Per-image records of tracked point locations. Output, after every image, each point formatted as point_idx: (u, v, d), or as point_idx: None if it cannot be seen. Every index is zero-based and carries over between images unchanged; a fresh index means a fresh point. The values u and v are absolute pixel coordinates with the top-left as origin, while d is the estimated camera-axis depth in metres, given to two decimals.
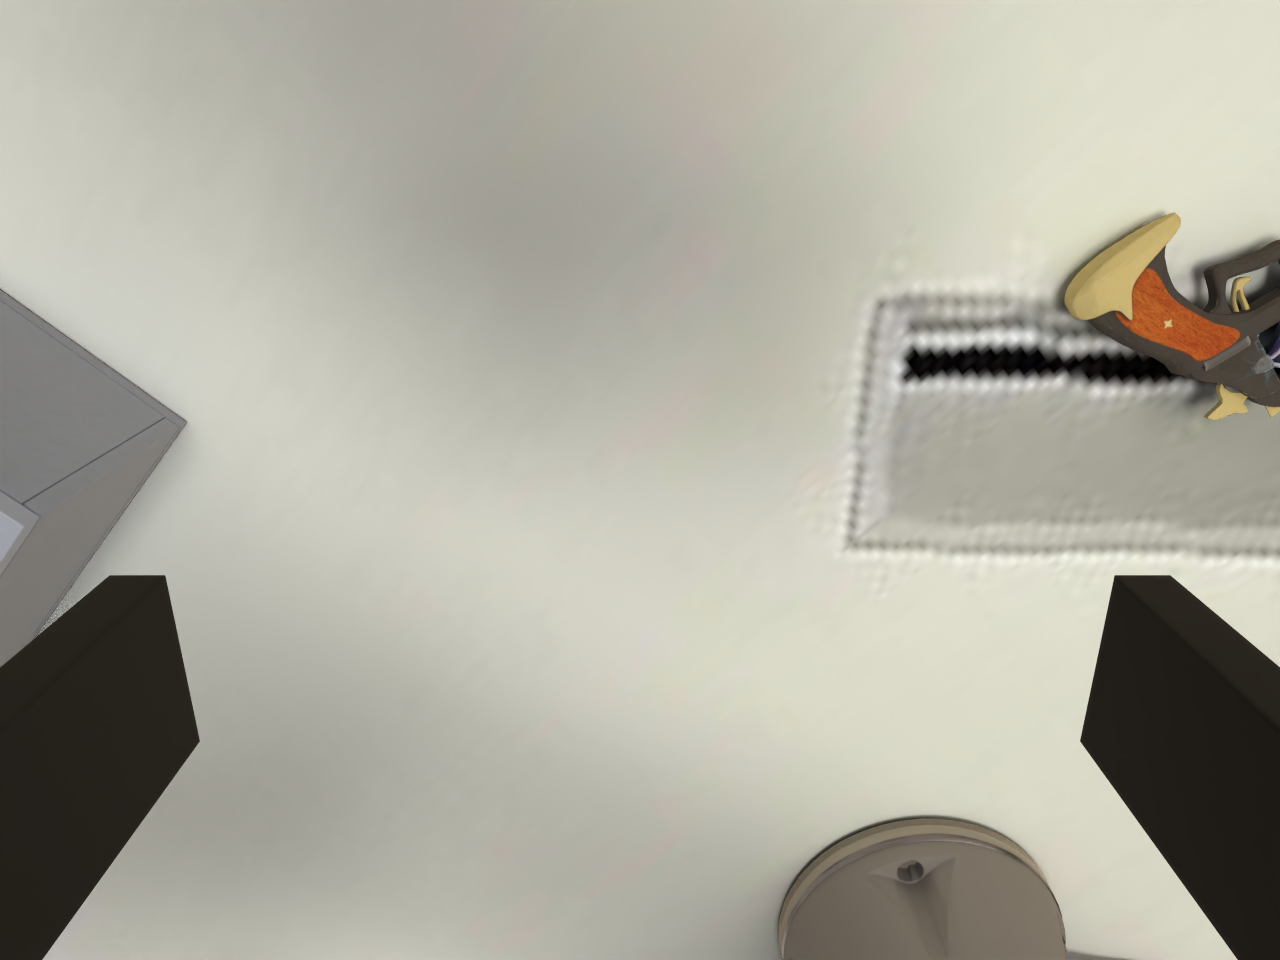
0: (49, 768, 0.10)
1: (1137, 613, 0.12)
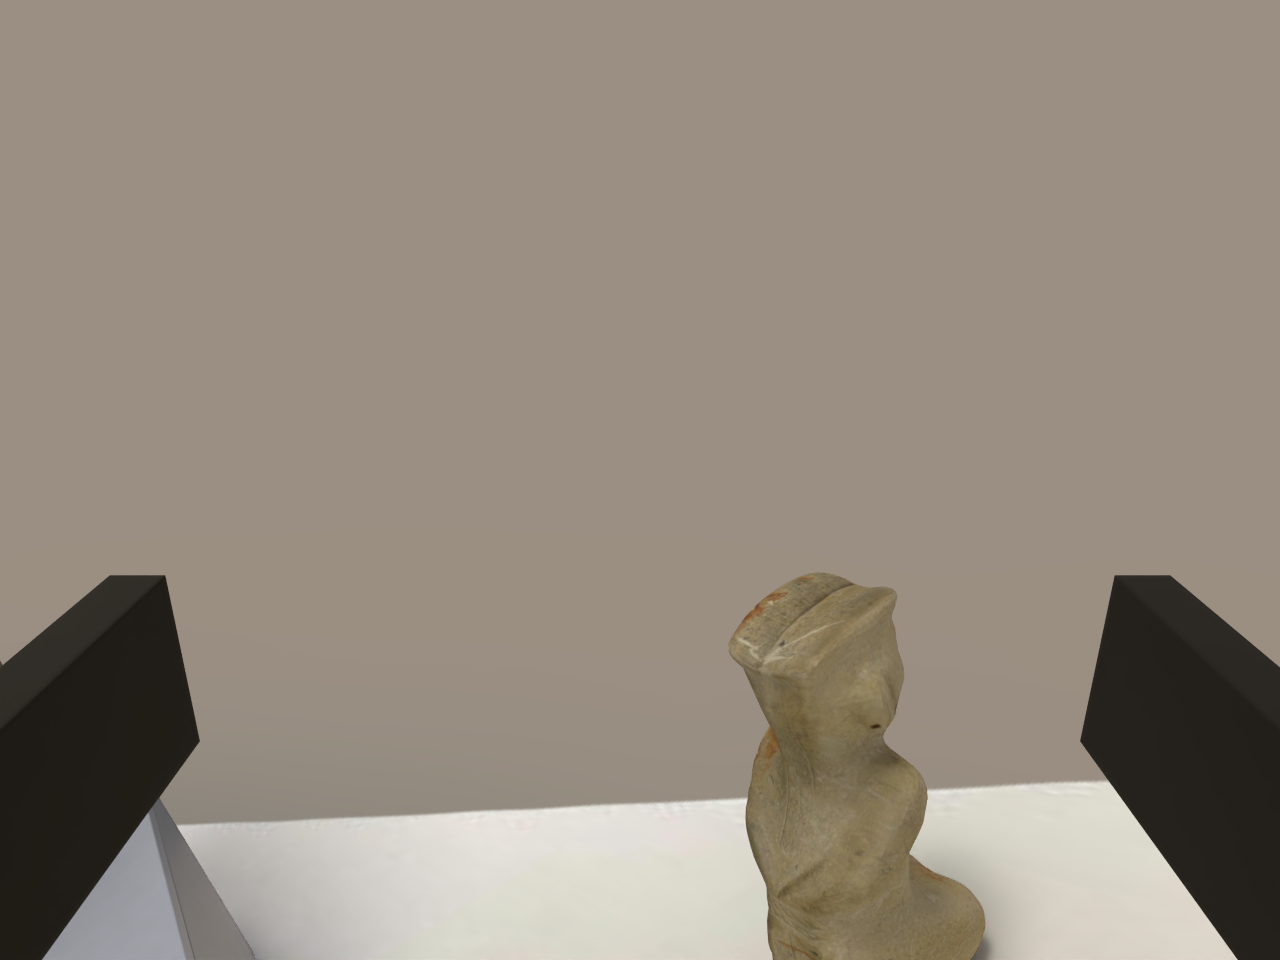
0: (49, 768, 0.10)
1: (1137, 613, 0.12)
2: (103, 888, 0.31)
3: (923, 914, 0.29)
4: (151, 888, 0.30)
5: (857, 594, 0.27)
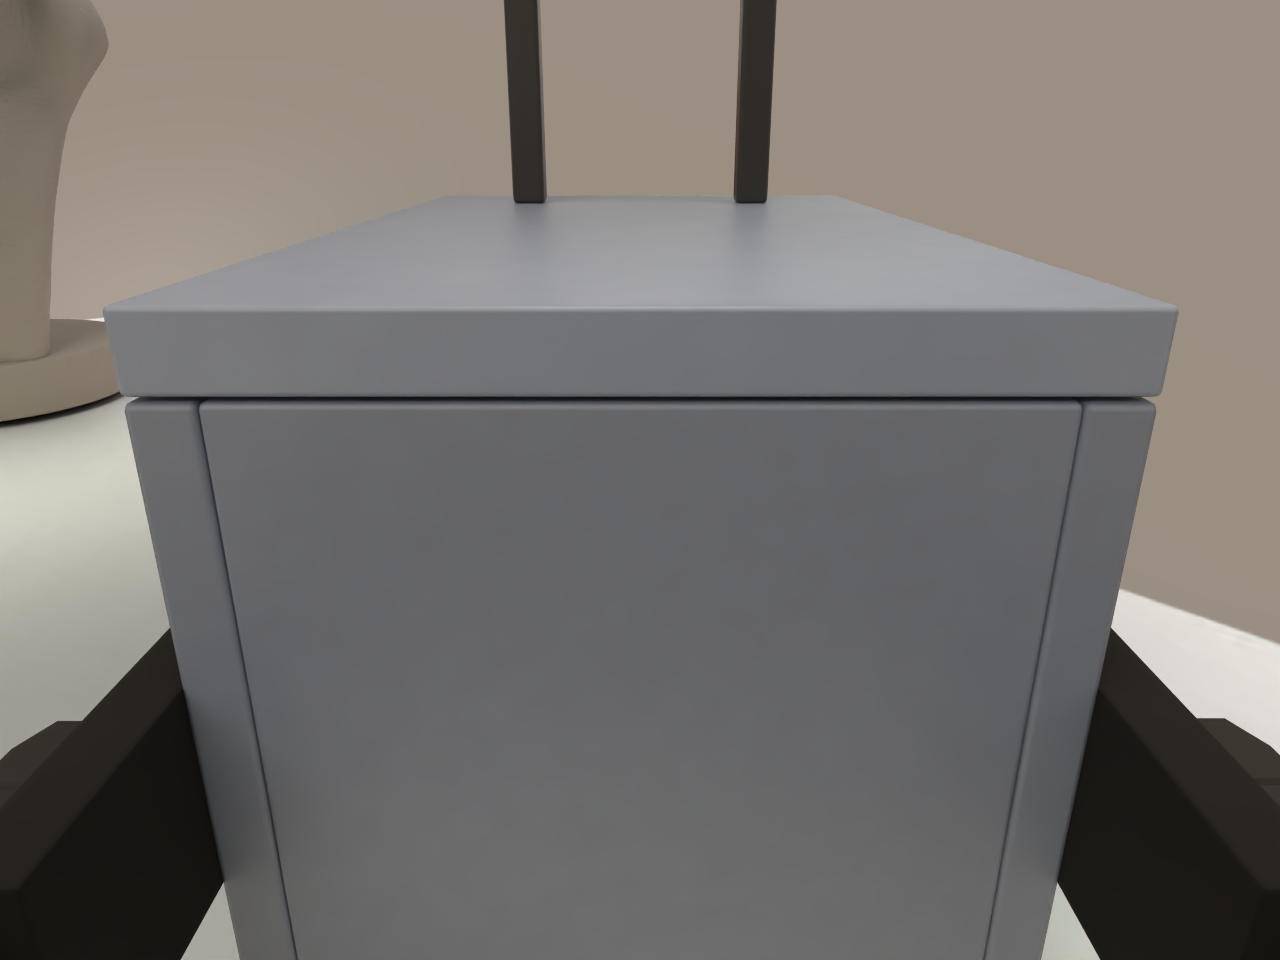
0: None
1: None
2: (837, 233, 0.14)
3: None
4: (963, 246, 0.13)
5: None
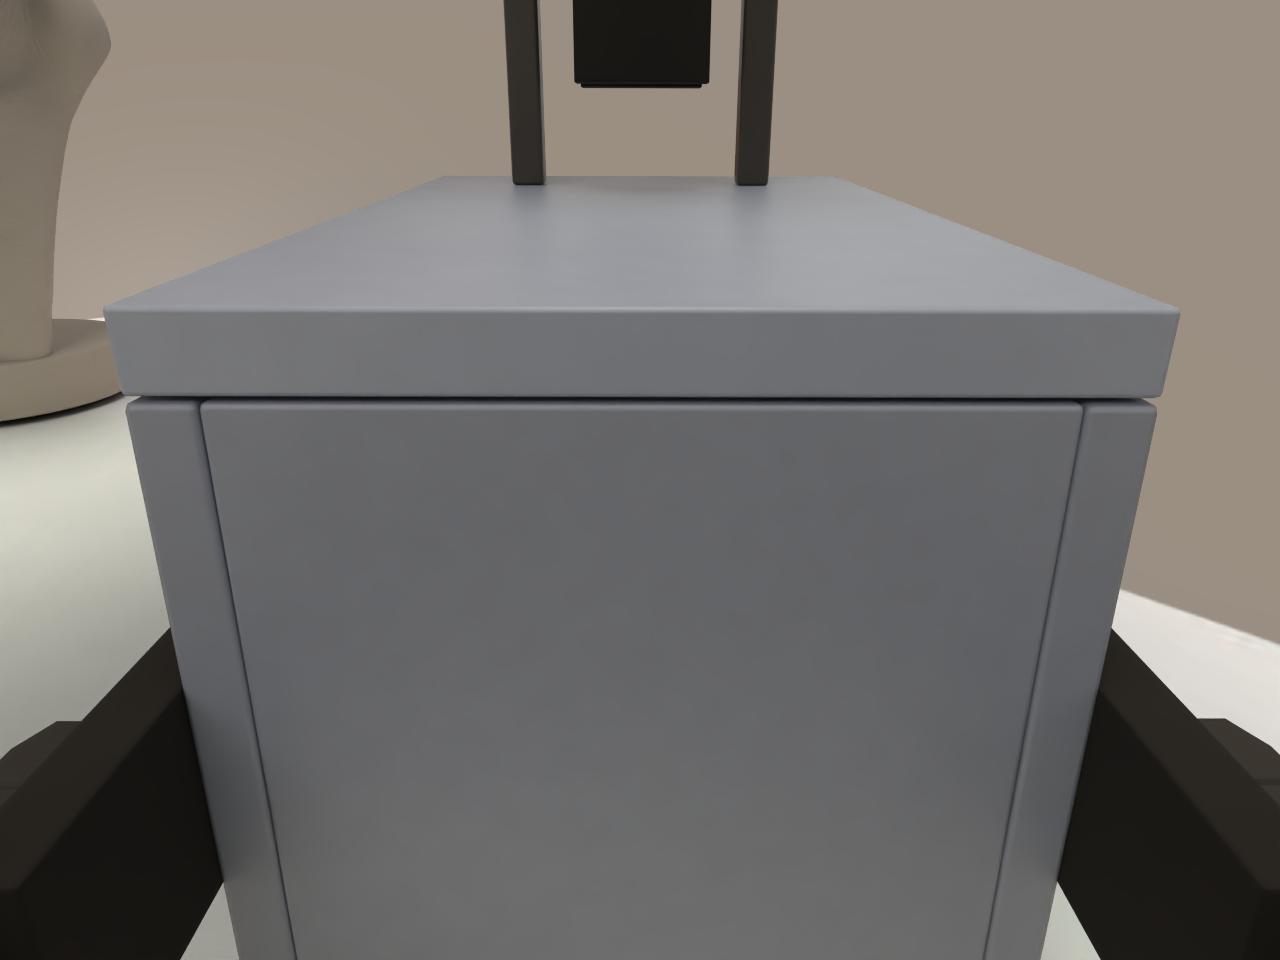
0: None
1: None
2: (839, 222, 0.14)
3: None
4: (965, 237, 0.13)
5: None
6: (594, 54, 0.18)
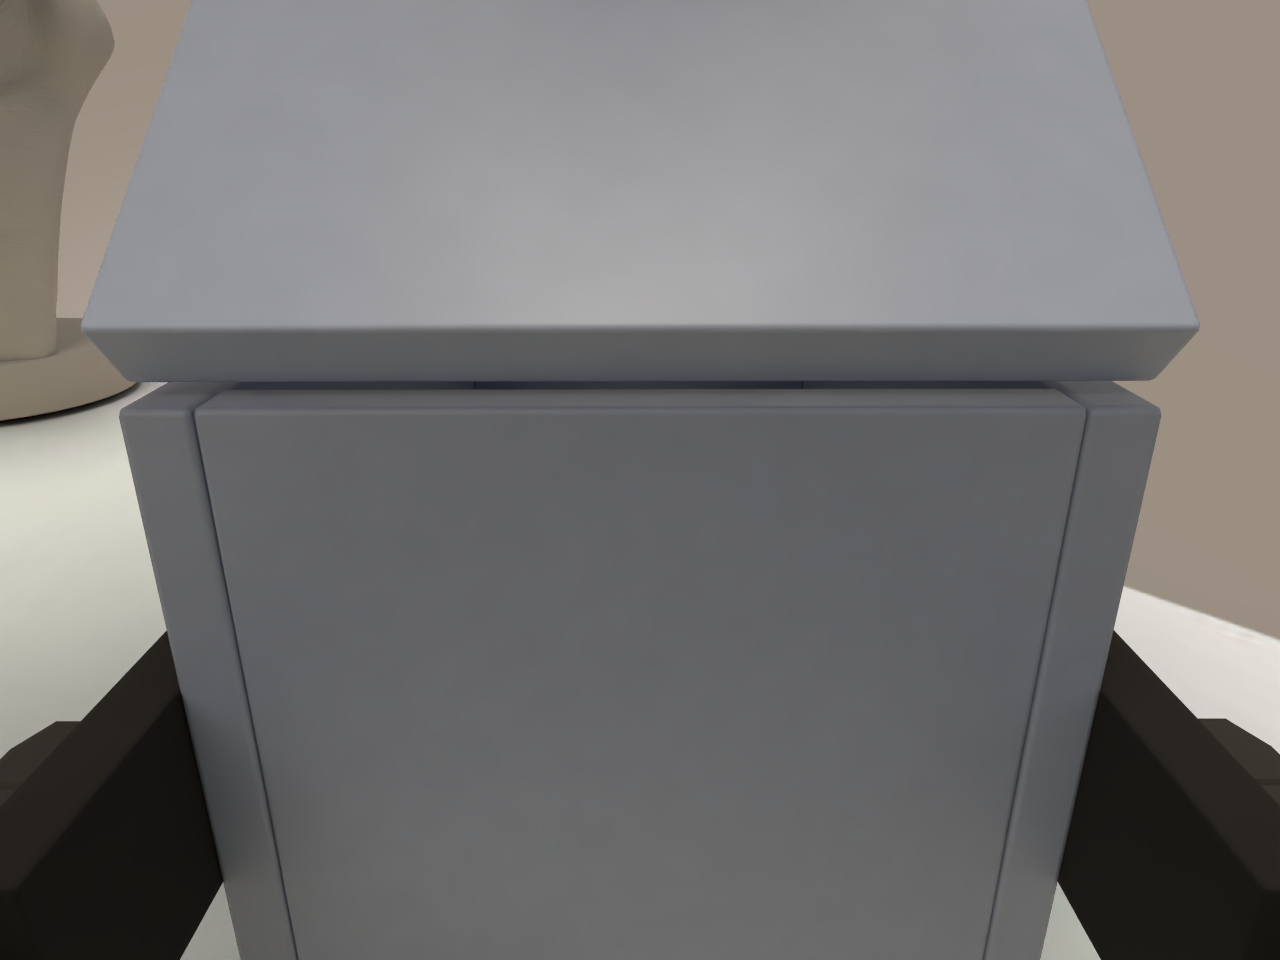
0: None
1: None
2: None
3: None
4: None
5: None
6: None
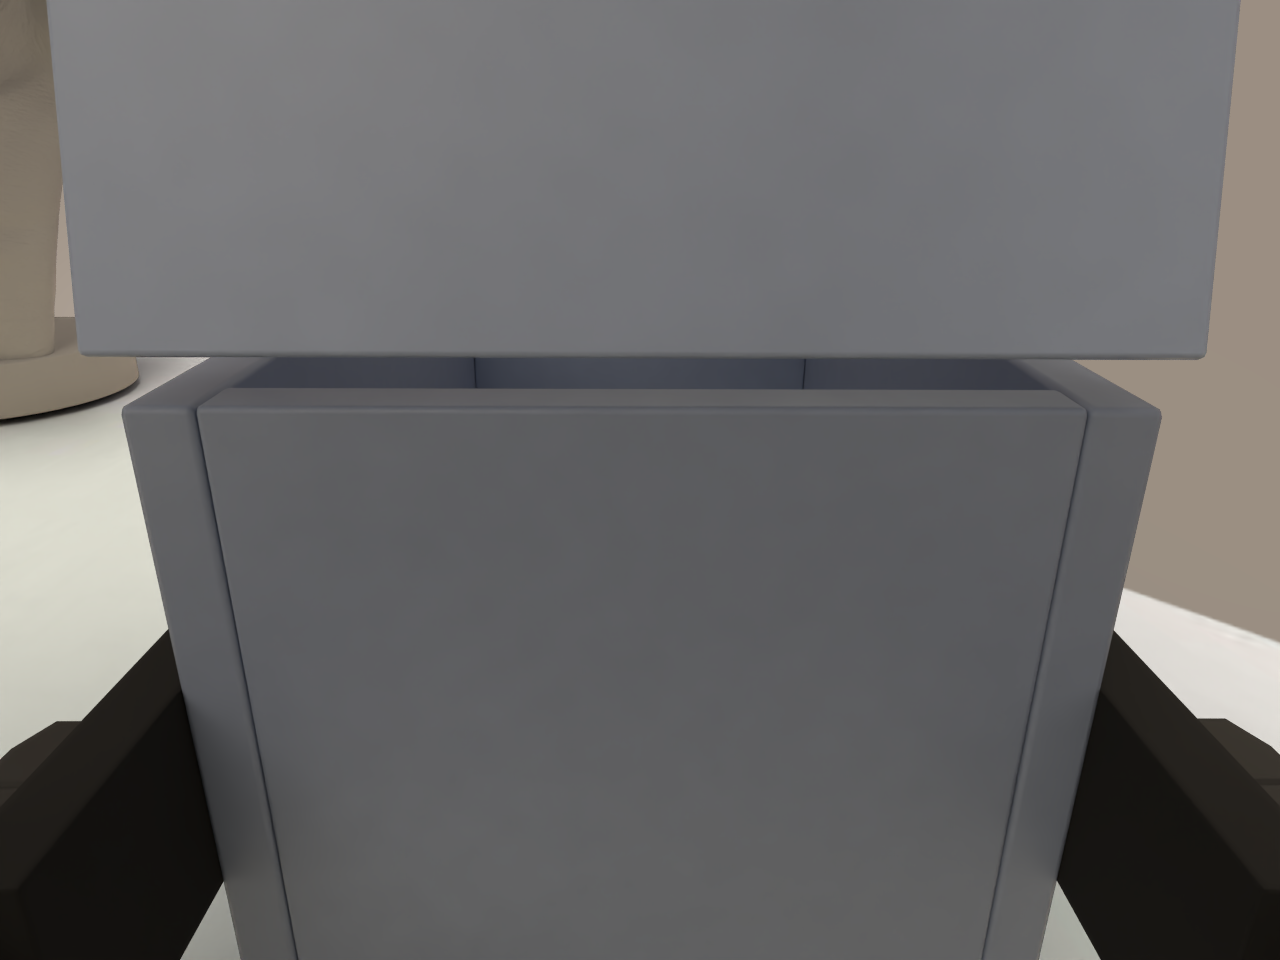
0: None
1: None
2: None
3: None
4: None
5: None
6: None
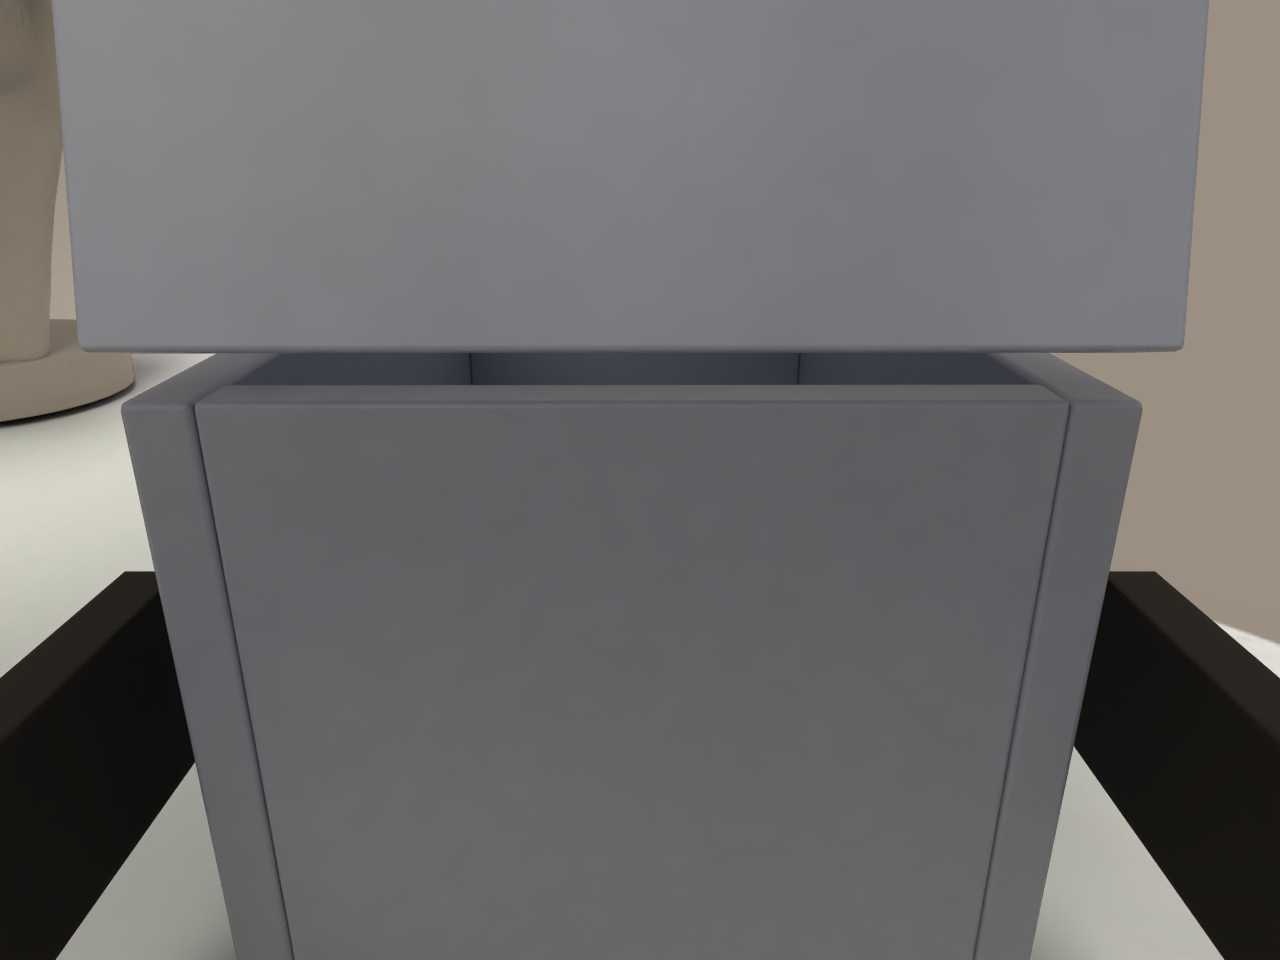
0: (69, 761, 0.10)
1: (1121, 609, 0.12)
2: None
3: None
4: None
5: None
6: None
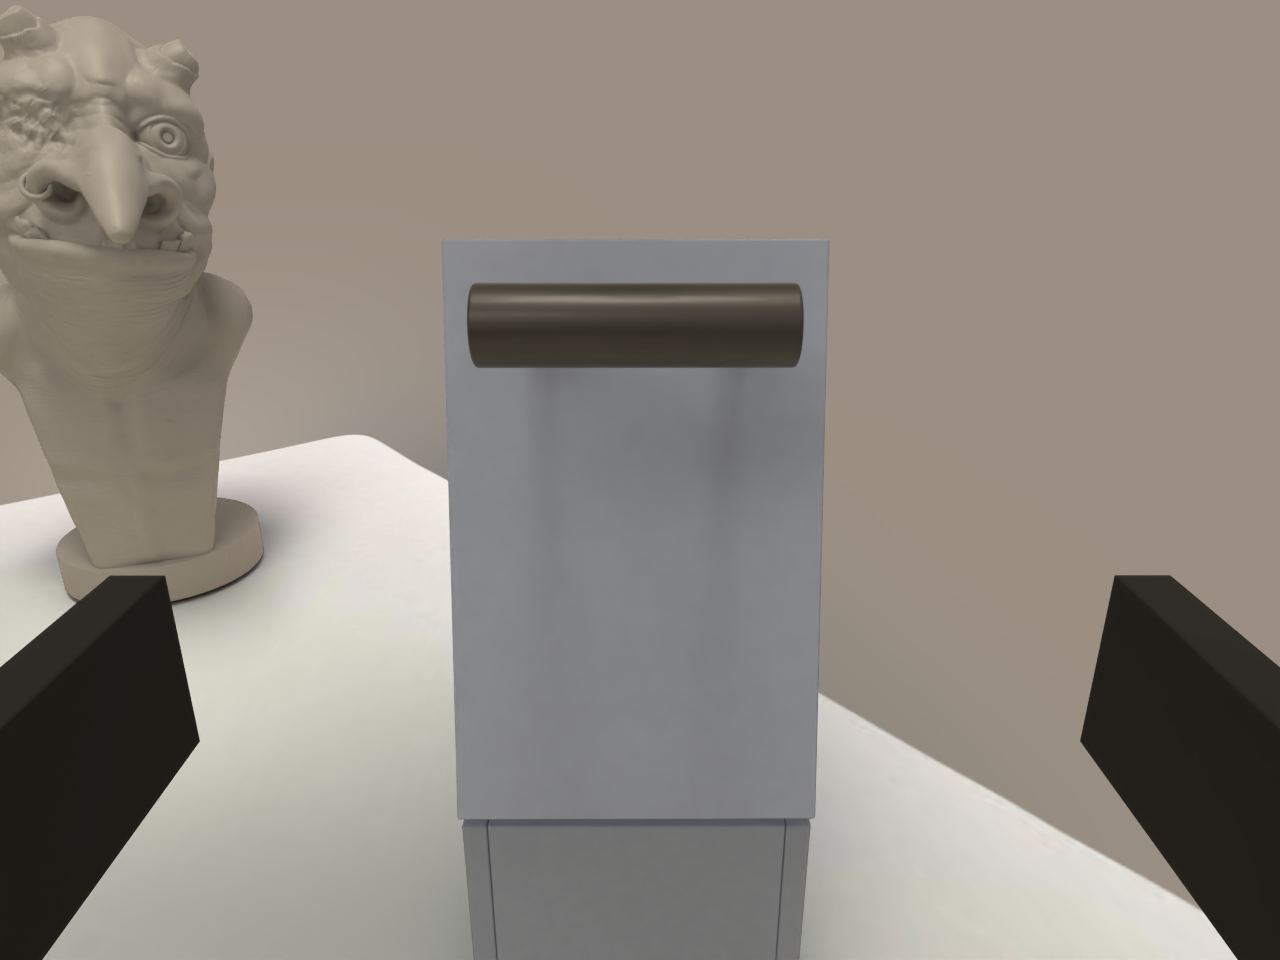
0: (49, 768, 0.10)
1: (1137, 613, 0.12)
2: (751, 593, 0.24)
3: None
4: (802, 655, 0.25)
5: None
6: None
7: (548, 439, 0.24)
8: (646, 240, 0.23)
